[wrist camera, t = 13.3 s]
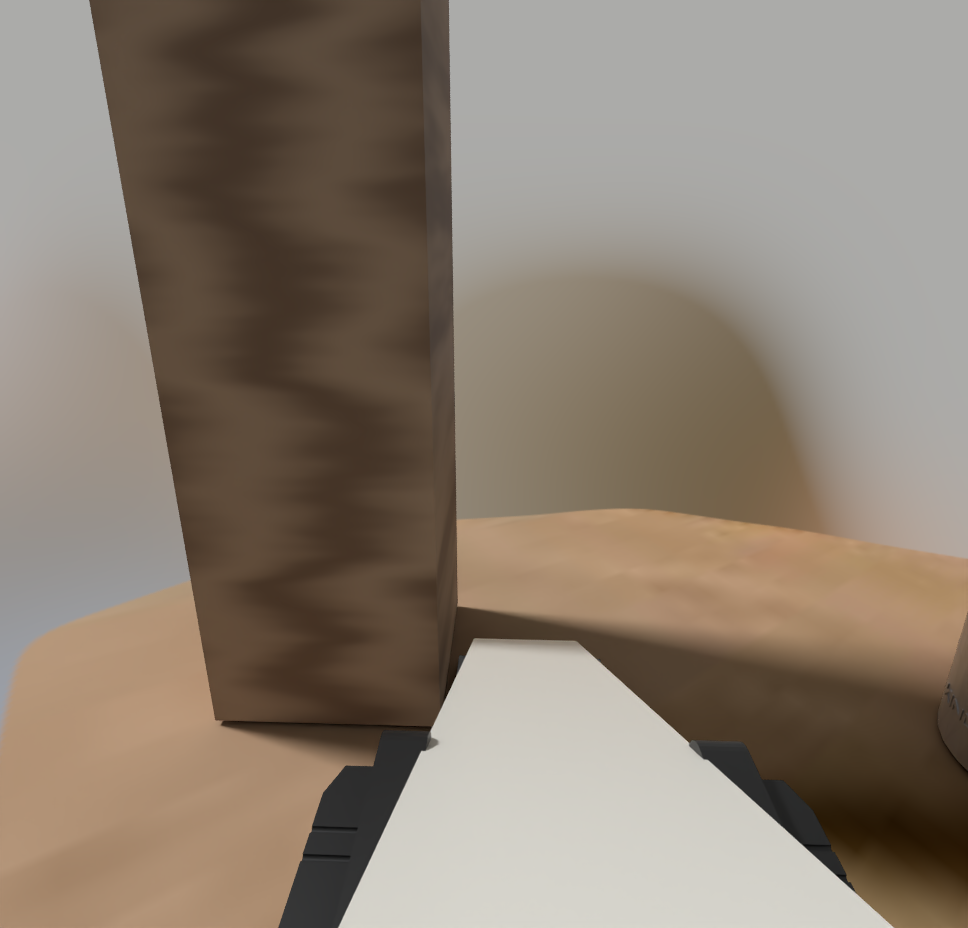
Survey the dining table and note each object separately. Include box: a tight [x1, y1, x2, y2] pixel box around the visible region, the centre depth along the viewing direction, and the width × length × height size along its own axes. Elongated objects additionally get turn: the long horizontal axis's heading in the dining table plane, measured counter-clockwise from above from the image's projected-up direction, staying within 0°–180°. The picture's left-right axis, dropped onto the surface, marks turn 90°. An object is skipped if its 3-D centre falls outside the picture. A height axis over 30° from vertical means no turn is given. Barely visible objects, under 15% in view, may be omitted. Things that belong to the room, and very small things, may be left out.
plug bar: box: [338, 638, 894, 928], centre depth 15 cm, size 4×22×4 cm
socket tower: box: [89, 0, 458, 726], centre depth 27 cm, size 10×10×38 cm
